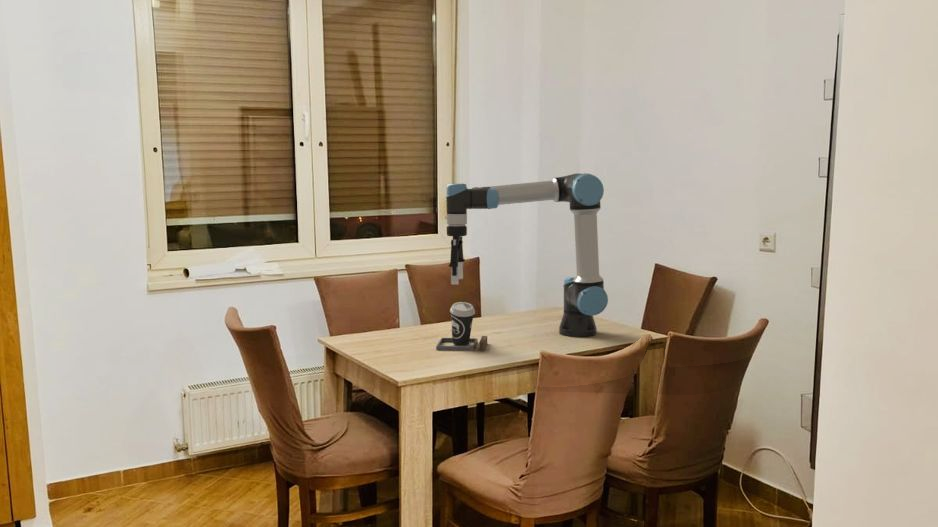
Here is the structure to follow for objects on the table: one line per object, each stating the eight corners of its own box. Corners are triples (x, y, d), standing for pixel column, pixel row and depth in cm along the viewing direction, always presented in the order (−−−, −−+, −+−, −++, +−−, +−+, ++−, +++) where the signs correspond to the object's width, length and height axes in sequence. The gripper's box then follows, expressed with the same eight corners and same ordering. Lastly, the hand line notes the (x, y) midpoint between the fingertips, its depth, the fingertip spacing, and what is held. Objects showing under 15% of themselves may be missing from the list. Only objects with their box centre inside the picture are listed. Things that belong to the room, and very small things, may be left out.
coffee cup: (471, 348, 294) (474, 312, 288) (446, 346, 294) (448, 310, 289) (474, 337, 303) (476, 302, 297) (449, 335, 303) (451, 300, 298)
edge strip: (487, 343, 299) (487, 335, 299) (484, 350, 287) (484, 343, 287) (482, 343, 299) (482, 335, 299) (479, 350, 288) (479, 342, 287)
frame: (477, 342, 302) (477, 338, 301) (473, 350, 288) (473, 346, 288) (441, 341, 303) (441, 337, 303) (436, 349, 289) (436, 345, 289)
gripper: (451, 222, 302) (451, 276, 305) (441, 227, 278) (442, 286, 281) (470, 222, 302) (470, 276, 304) (462, 227, 277) (463, 286, 280)
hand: (457, 281), depth 292 cm, fingers open, 13 cm apart
